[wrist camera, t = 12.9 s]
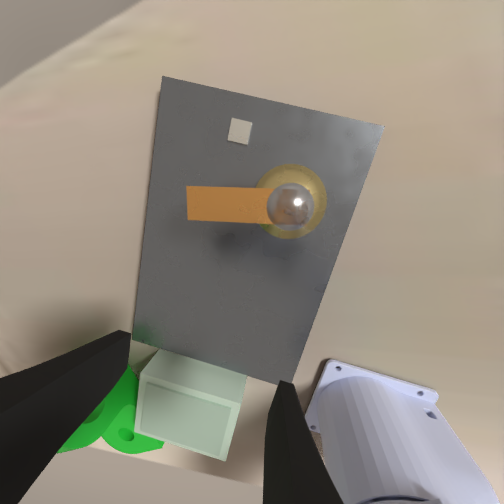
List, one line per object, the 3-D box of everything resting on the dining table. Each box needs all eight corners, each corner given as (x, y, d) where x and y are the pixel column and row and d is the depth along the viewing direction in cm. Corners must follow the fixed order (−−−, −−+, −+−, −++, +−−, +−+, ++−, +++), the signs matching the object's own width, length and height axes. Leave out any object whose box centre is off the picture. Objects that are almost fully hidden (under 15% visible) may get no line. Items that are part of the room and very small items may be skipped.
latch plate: (377, 131, 16) (386, 125, 15) (289, 378, 22) (289, 390, 20) (170, 83, 17) (160, 74, 16) (139, 332, 23) (130, 340, 22)
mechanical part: (72, 355, 25) (-22, 427, 18) (115, 339, 24) (34, 409, 16) (128, 439, 27) (67, 536, 20) (170, 429, 26) (122, 528, 18)
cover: (247, 372, 23) (240, 405, 19) (233, 424, 25) (225, 464, 21) (161, 346, 23) (138, 374, 20) (154, 399, 25) (132, 433, 22)
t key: (212, 182, 17) (186, 179, 12) (307, 185, 16) (316, 183, 11) (212, 216, 17) (187, 225, 13) (304, 220, 16) (311, 231, 12)
